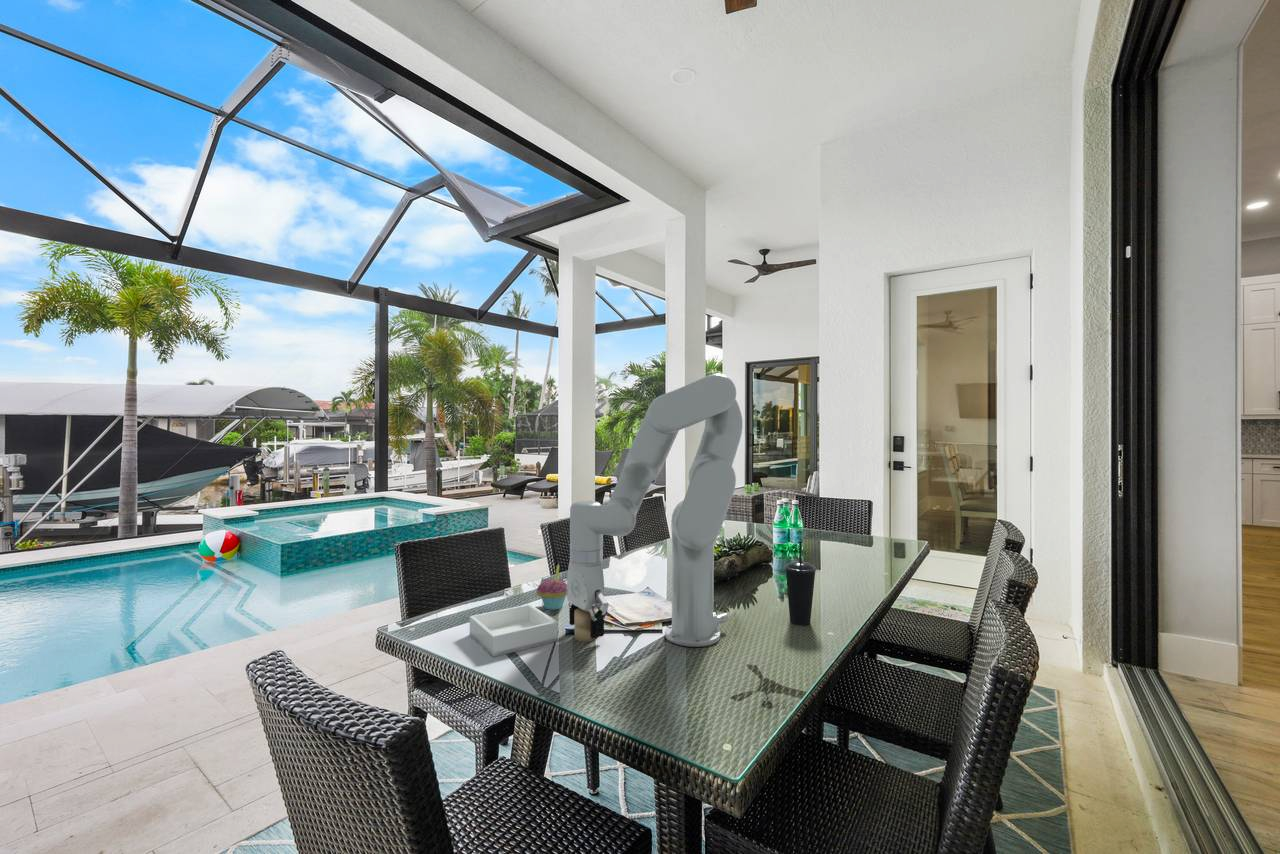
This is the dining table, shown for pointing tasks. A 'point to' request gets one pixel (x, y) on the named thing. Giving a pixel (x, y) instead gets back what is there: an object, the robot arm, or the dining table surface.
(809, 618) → the drinking cup
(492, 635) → the serving dish
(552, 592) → the cupcake
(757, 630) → the dining table surface
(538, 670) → the dining table surface
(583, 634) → the beige cylinder
